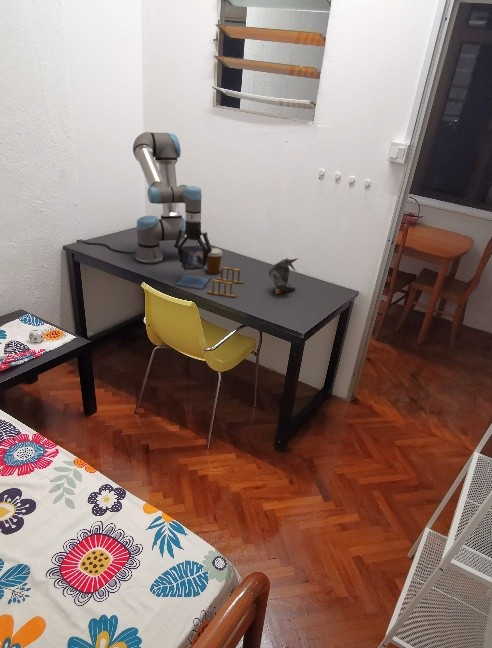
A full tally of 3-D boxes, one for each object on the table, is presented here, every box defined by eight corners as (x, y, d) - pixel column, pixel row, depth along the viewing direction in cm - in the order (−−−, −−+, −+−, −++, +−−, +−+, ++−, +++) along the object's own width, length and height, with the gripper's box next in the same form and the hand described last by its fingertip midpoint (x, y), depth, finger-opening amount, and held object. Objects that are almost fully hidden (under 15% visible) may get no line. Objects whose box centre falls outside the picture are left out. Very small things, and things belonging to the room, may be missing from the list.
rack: (207, 293, 229) (208, 279, 224) (217, 279, 244) (218, 265, 240) (235, 297, 227) (235, 283, 223) (243, 283, 243) (243, 269, 239)
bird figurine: (262, 286, 242) (265, 254, 232) (288, 284, 248) (292, 252, 238) (273, 298, 231) (276, 264, 222) (299, 295, 237) (304, 262, 227)
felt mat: (175, 285, 233) (175, 284, 233) (184, 275, 244) (184, 274, 244) (202, 289, 232) (202, 288, 232) (209, 279, 243) (209, 278, 243)
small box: (185, 271, 229) (184, 250, 223) (181, 266, 234) (180, 246, 228) (204, 269, 234) (205, 249, 228) (200, 264, 238) (200, 245, 232)
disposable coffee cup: (218, 275, 248) (219, 254, 241) (202, 272, 249) (202, 251, 243) (223, 269, 256) (224, 249, 249) (207, 266, 257) (208, 246, 250)
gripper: (166, 219, 218) (167, 262, 230) (215, 226, 216) (214, 269, 228) (171, 215, 224) (172, 257, 236) (219, 222, 223) (217, 264, 235)
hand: (193, 263), depth 232 cm, fingers closed on small box, 12 cm apart
